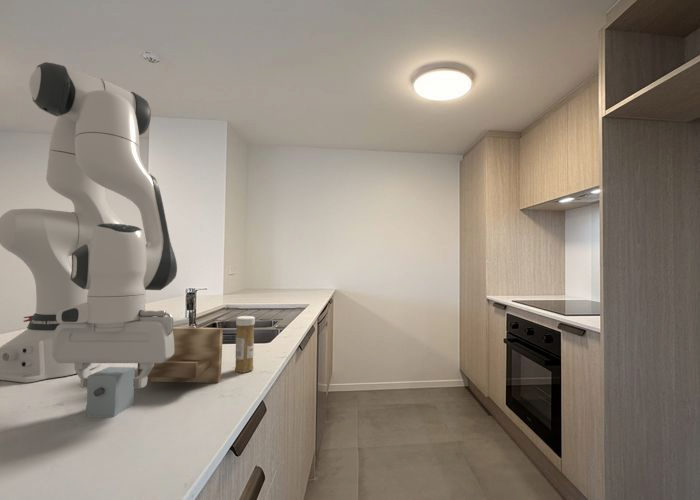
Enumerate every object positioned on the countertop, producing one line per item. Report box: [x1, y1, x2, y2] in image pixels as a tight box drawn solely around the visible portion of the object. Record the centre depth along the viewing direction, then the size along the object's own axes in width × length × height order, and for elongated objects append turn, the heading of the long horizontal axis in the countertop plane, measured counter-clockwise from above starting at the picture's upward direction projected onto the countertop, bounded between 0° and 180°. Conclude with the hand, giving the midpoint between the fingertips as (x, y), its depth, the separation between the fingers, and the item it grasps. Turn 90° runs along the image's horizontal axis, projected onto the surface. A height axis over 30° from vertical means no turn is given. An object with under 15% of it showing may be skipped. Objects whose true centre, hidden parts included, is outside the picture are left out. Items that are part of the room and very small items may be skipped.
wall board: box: [136, 326, 224, 384], centre depth 71 cm, size 16×8×12 cm, turn 90°
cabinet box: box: [85, 366, 136, 418], centre depth 59 cm, size 5×6×7 cm
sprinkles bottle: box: [234, 315, 256, 374], centre depth 83 cm, size 5×5×14 cm
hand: (114, 386), depth 60 cm, fingers open, 8 cm apart
